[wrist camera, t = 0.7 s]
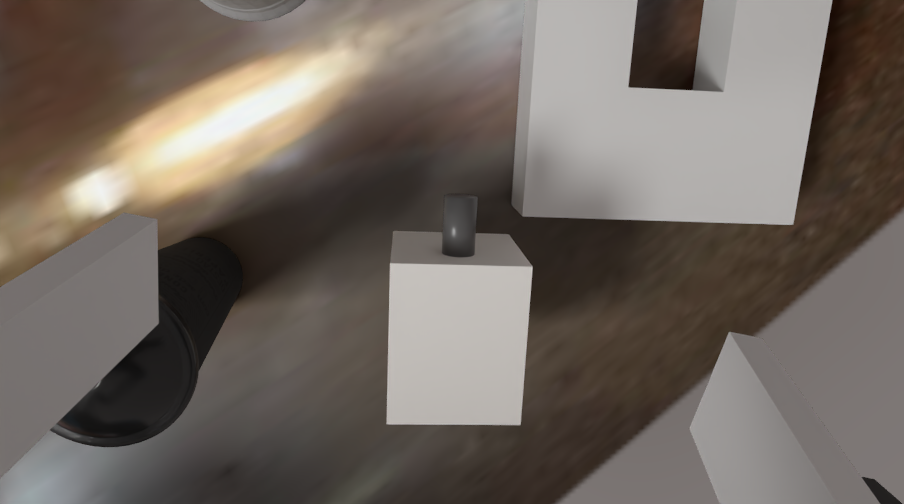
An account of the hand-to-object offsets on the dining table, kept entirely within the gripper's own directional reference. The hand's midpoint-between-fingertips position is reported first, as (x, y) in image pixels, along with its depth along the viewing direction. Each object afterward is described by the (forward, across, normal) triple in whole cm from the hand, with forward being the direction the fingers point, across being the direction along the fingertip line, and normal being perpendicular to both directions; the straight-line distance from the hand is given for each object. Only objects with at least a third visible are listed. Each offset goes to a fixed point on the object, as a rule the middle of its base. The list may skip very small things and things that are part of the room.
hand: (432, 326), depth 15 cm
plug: (+24, 0, +9) cm, 26 cm away
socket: (+28, -10, -6) cm, 30 cm away
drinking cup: (+22, +15, +12) cm, 29 cm away
